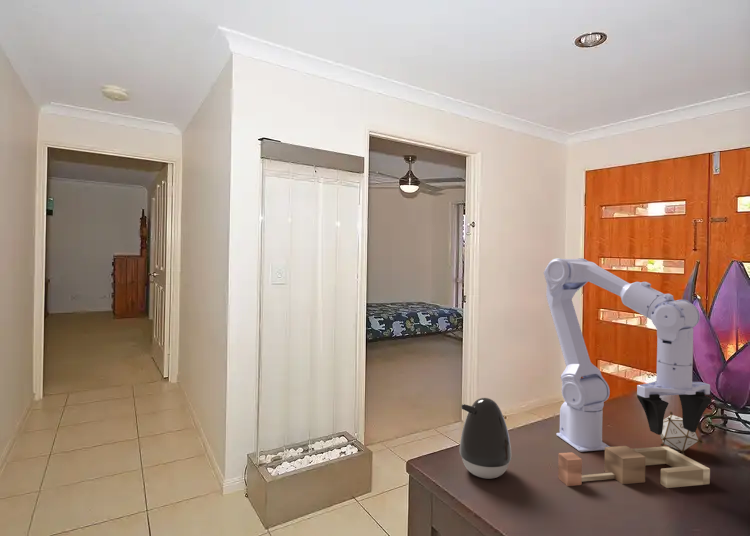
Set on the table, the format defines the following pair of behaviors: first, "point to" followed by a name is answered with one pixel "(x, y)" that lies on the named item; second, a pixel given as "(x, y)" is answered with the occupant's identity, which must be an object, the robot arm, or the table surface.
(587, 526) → the table surface
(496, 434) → the pump dispenser
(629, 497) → the table surface
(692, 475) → the wooden u-channel piece
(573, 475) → the tethered block
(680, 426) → the game die
